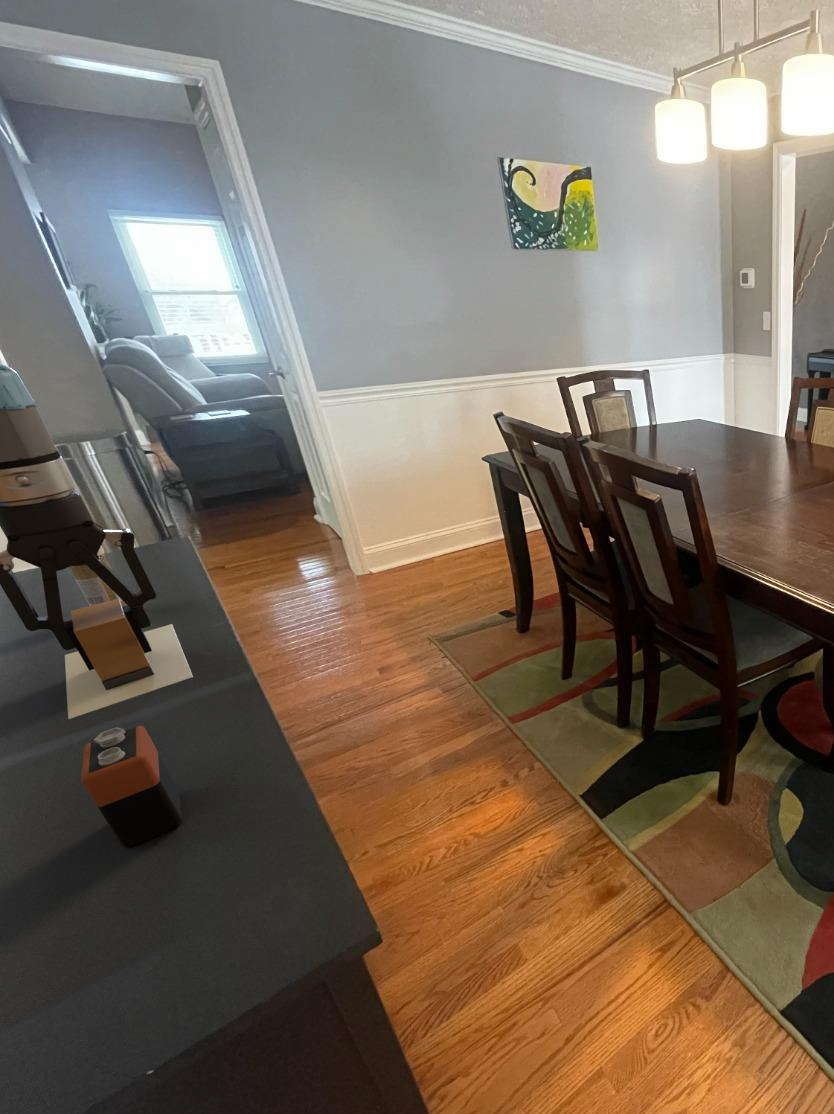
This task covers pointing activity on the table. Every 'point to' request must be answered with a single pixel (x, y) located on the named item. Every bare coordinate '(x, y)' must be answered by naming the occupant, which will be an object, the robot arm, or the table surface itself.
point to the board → (92, 694)
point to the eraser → (111, 643)
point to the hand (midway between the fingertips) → (120, 656)
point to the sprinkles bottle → (94, 583)
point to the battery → (131, 785)
